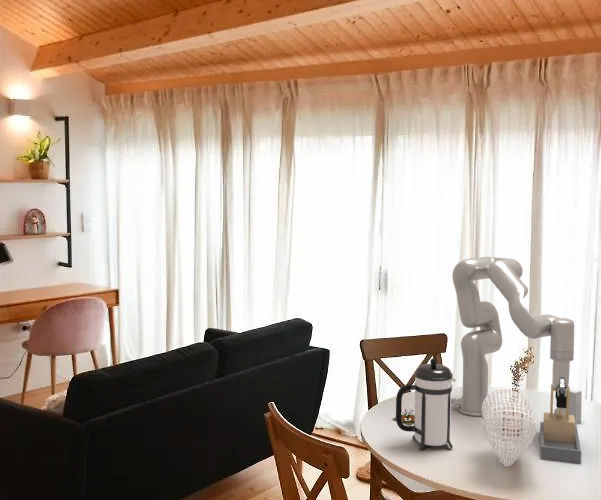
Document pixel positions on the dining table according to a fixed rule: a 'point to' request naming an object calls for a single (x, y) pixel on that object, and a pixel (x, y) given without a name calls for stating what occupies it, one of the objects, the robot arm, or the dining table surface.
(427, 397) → the coffee press
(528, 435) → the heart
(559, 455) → the shaker tray
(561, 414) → the ball
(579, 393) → the skincare box
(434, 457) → the dining table surface
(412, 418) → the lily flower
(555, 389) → the tan slotted block
